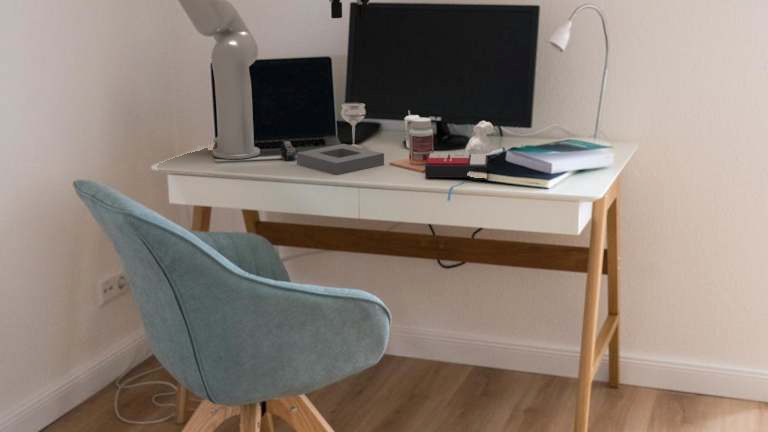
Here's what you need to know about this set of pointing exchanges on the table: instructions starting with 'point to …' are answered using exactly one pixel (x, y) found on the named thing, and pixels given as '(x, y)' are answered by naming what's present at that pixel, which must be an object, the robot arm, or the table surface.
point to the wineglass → (353, 115)
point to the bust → (480, 139)
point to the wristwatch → (287, 151)
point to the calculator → (454, 164)
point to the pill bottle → (420, 140)
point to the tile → (408, 165)
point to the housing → (340, 159)
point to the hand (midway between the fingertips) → (349, 19)
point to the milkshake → (408, 126)
